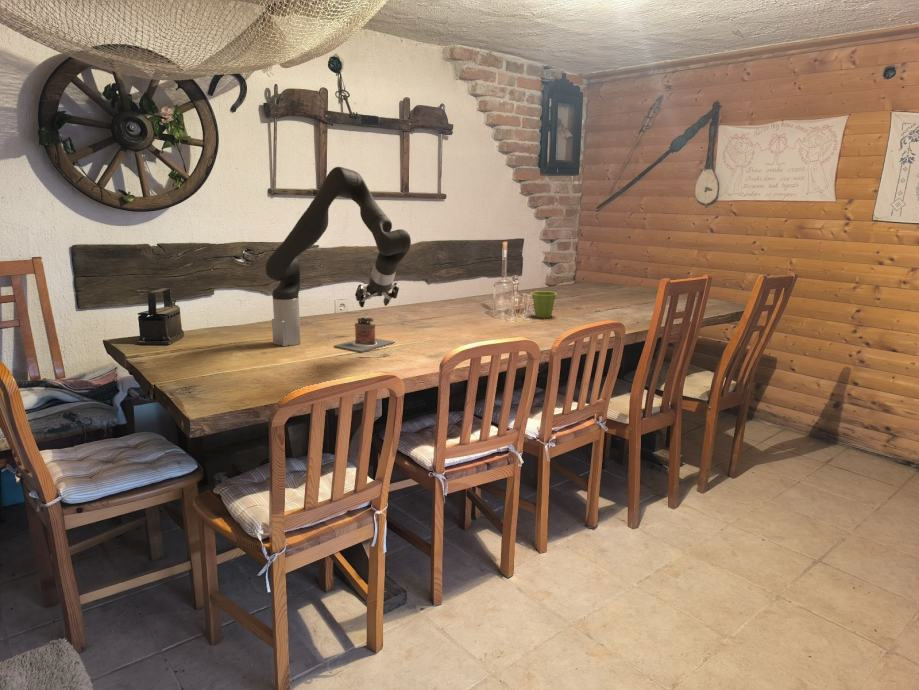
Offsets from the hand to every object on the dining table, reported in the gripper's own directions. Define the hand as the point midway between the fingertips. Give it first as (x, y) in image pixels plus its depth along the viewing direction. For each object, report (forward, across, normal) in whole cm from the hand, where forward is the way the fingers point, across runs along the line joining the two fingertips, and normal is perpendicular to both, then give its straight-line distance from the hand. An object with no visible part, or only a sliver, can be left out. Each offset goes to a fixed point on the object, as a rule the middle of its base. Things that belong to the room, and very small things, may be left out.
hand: (373, 304), depth 219 cm
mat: (+20, 0, +4) cm, 21 cm away
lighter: (+20, 0, +4) cm, 20 cm away
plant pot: (+36, -91, -11) cm, 99 cm away
